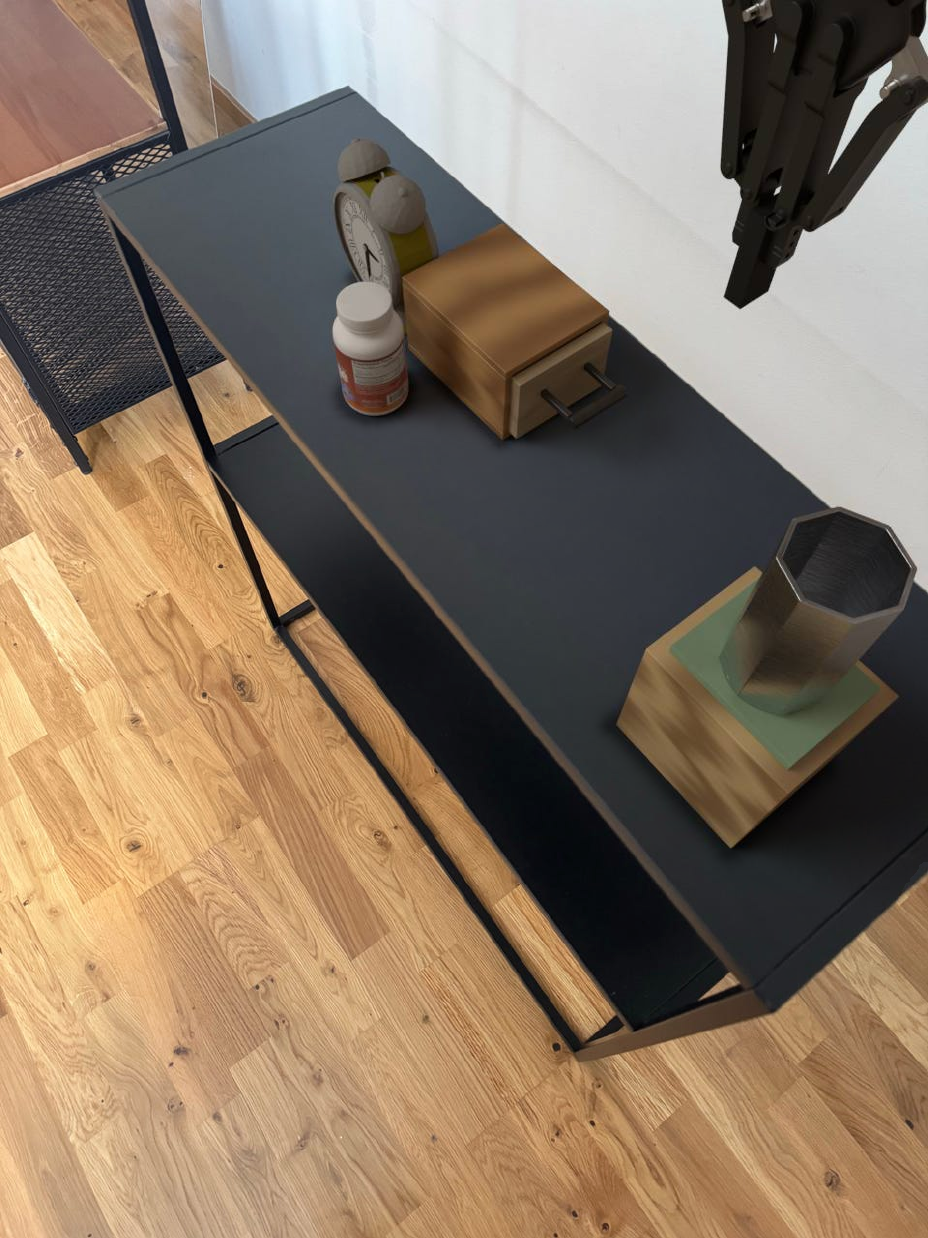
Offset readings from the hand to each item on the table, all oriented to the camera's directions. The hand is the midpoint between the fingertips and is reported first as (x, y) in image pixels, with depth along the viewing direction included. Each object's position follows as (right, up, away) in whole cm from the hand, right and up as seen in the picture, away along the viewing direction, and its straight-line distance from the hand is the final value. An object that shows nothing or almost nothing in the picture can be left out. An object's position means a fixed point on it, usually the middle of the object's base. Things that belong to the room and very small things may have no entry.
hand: (746, 293), depth 58 cm
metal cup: (0, -24, -4) cm, 25 cm away
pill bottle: (-27, 0, +25) cm, 37 cm away
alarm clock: (-25, +11, +31) cm, 41 cm away
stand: (+1, -31, +8) cm, 32 cm away
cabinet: (-15, +3, +27) cm, 31 cm away
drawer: (-13, 0, +24) cm, 27 cm away
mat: (0, -25, -3) cm, 25 cm away
